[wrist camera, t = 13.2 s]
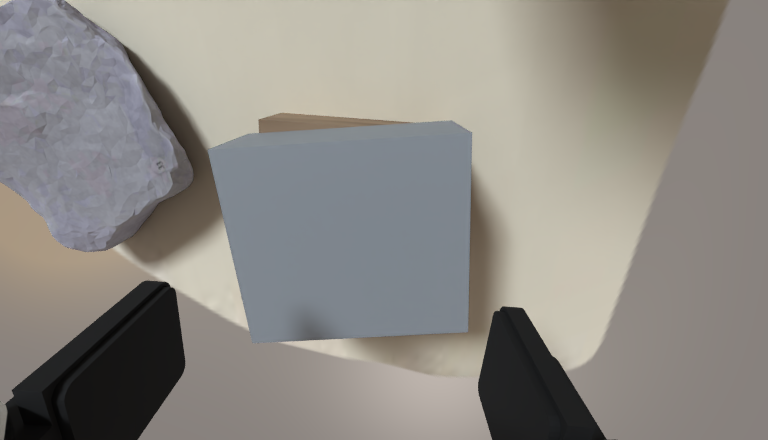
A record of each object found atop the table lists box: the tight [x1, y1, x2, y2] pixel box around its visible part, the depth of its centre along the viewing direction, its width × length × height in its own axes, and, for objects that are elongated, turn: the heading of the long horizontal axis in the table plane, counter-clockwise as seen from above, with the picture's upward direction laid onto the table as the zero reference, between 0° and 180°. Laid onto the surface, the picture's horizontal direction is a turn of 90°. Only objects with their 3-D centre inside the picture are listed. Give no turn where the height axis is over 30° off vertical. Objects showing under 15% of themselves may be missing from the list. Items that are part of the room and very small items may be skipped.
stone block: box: [0, 0, 194, 252], centre depth 21 cm, size 12×5×10 cm
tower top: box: [208, 120, 472, 343], centre depth 18 cm, size 9×10×4 cm
